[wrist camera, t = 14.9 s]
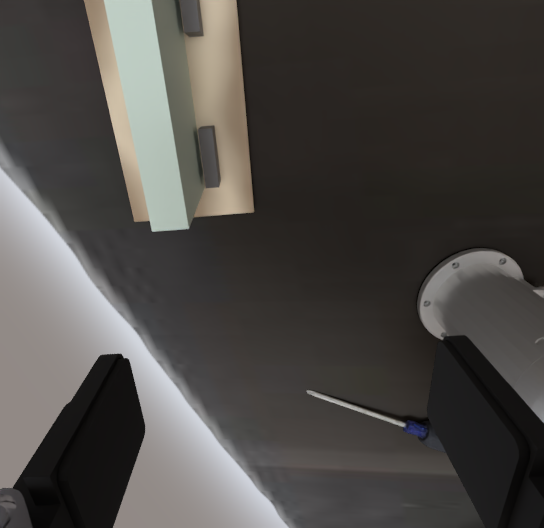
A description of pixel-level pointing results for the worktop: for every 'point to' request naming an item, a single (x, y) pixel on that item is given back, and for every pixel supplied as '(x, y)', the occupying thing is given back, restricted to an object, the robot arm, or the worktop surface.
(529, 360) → the robot arm
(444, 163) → the worktop surface
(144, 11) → the door
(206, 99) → the hinge base
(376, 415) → the screwdriver
